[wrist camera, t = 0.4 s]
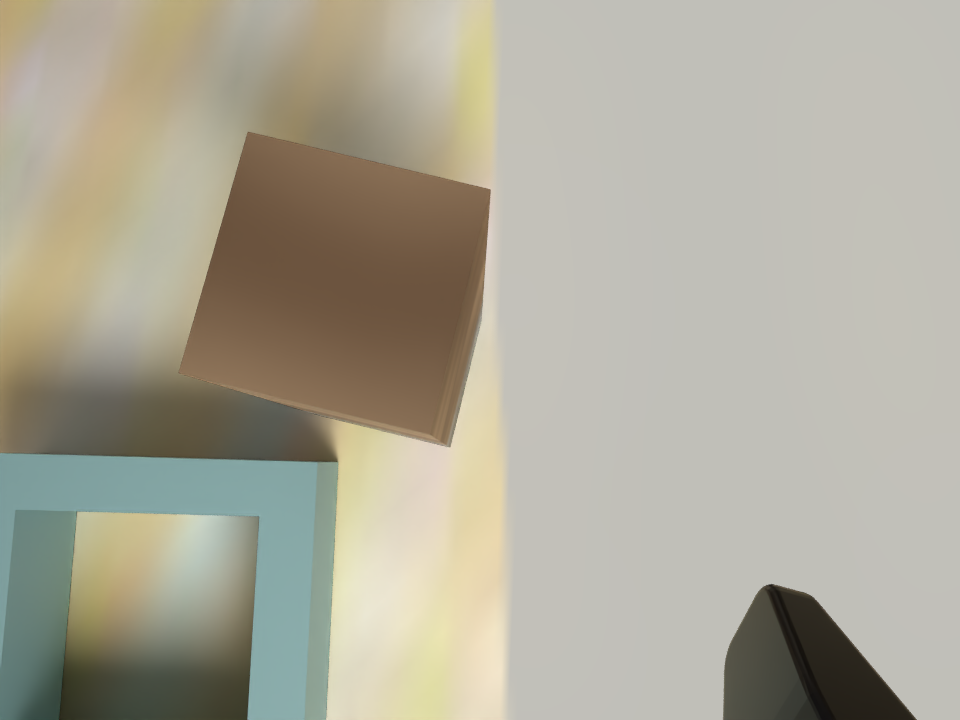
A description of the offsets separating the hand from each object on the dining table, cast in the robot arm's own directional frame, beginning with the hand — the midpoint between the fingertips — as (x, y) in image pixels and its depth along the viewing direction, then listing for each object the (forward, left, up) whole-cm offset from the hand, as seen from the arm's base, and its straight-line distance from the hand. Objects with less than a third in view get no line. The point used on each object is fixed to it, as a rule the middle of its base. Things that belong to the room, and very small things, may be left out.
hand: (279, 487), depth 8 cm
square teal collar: (-2, +7, -14) cm, 16 cm away
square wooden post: (+3, -1, -14) cm, 15 cm away
